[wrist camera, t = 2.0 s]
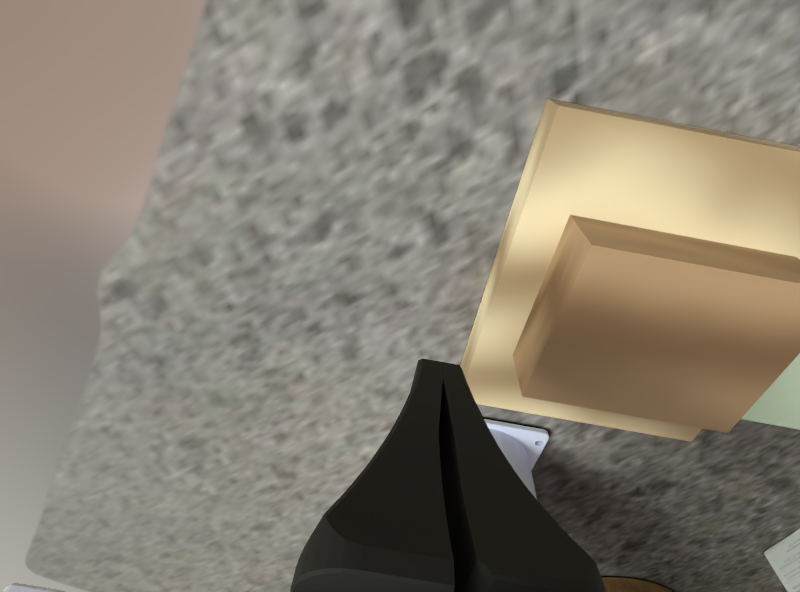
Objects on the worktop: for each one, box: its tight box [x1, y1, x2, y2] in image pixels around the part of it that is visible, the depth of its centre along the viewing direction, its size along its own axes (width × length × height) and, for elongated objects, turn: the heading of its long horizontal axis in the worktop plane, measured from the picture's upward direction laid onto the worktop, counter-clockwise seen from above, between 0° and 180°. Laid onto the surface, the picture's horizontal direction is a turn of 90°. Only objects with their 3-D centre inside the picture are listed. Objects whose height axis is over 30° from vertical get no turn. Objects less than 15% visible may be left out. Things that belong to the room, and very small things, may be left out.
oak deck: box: [460, 98, 800, 442], centre depth 21 cm, size 16×14×2 cm
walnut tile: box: [513, 215, 800, 433], centre depth 19 cm, size 8×10×3 cm
